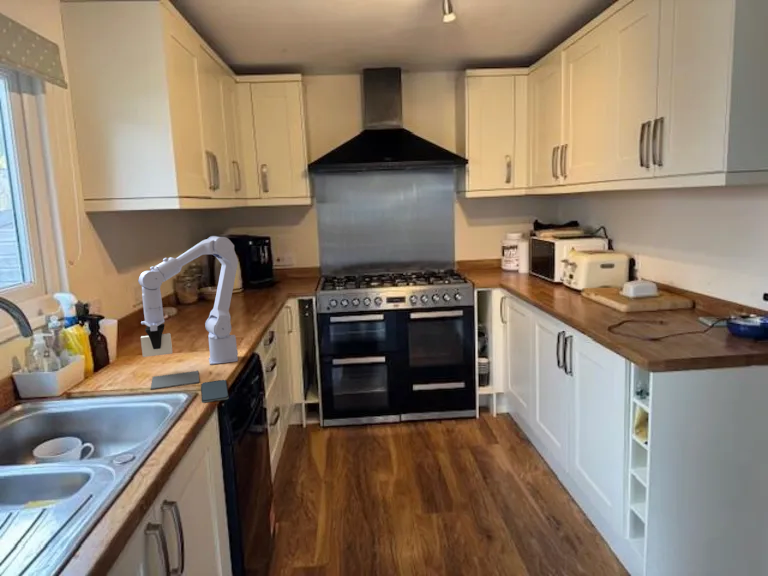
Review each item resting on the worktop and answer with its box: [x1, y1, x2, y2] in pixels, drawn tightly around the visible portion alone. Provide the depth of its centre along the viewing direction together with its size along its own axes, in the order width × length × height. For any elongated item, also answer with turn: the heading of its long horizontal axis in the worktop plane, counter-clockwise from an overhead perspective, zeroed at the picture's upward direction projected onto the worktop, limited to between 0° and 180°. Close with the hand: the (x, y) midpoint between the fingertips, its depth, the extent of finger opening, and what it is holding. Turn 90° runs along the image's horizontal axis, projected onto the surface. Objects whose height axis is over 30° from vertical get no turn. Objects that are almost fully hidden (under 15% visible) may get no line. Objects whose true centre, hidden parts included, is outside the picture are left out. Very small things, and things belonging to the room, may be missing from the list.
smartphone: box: [200, 379, 230, 404], centre depth 159 cm, size 8×2×15 cm
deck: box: [140, 332, 173, 358], centre depth 177 cm, size 2×9×6 cm, turn 110°
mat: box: [150, 370, 200, 390], centre depth 171 cm, size 14×12×1 cm
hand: (157, 347), depth 177 cm, fingers closed on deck, 2 cm apart
